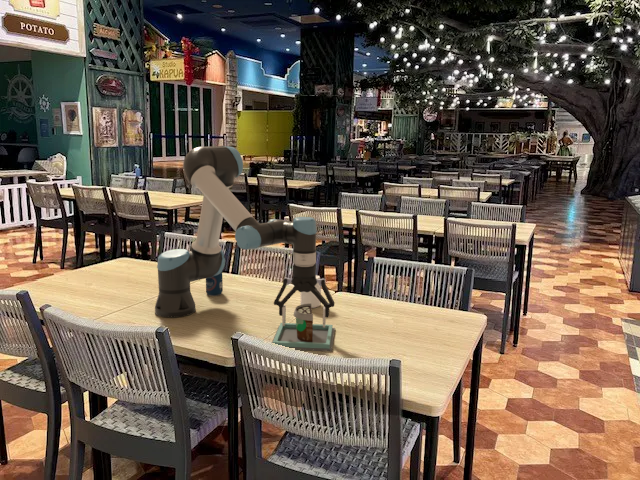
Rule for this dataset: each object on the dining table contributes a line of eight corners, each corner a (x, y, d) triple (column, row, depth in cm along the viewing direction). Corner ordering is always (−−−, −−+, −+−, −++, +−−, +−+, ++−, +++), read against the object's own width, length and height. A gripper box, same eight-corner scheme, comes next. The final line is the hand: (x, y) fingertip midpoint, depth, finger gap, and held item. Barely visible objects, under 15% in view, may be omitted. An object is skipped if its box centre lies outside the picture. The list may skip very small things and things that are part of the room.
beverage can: (318, 309, 223) (318, 280, 220) (298, 307, 224) (298, 278, 222) (322, 303, 231) (322, 274, 228) (303, 301, 232) (303, 273, 230)
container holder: (269, 348, 183) (269, 343, 183) (278, 327, 203) (278, 321, 202) (331, 351, 182) (331, 345, 181) (334, 329, 201) (334, 324, 201)
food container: (293, 330, 198) (293, 303, 196) (310, 330, 198) (311, 303, 196) (293, 344, 186) (294, 314, 184) (312, 343, 186) (313, 314, 184)
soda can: (202, 295, 239) (202, 267, 237) (211, 290, 246) (211, 264, 243) (217, 297, 237) (216, 269, 234) (225, 292, 243) (225, 265, 241)
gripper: (265, 265, 184) (265, 327, 188) (341, 268, 182) (340, 330, 187) (268, 260, 192) (269, 320, 196) (342, 262, 190) (341, 322, 194)
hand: (304, 325), depth 191 cm, fingers open, 13 cm apart
